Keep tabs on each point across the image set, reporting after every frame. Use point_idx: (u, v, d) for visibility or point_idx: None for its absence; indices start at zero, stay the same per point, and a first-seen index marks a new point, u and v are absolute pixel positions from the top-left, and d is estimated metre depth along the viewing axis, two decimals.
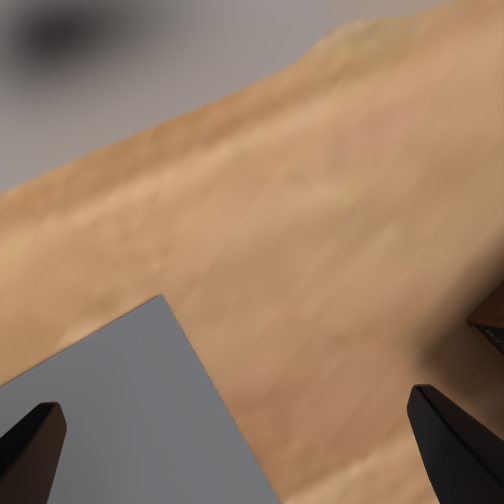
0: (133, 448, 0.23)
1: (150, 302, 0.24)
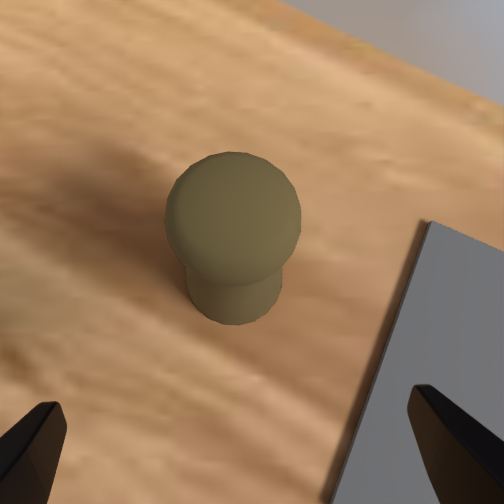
0: None
1: None
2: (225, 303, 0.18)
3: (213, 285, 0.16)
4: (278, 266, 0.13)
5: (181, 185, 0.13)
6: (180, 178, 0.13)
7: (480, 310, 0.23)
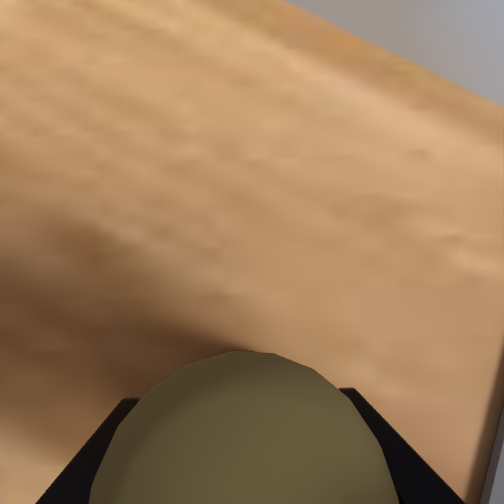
0: None
1: None
2: None
3: None
4: None
5: (117, 485, 0.05)
6: (118, 454, 0.06)
7: None
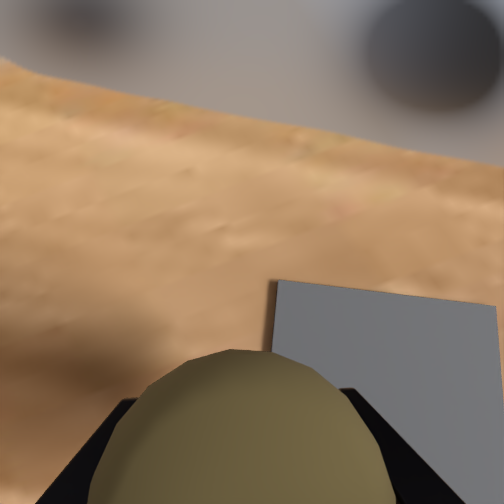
0: (402, 421, 0.21)
1: (483, 306, 0.24)
2: None
3: None
4: None
5: (117, 483, 0.05)
6: (117, 452, 0.06)
7: (345, 359, 0.22)
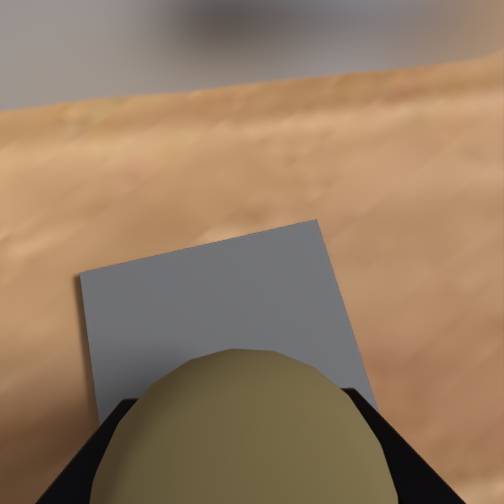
0: None
1: (304, 224, 0.22)
2: None
3: None
4: None
5: (120, 481, 0.05)
6: (120, 450, 0.06)
7: (173, 330, 0.20)
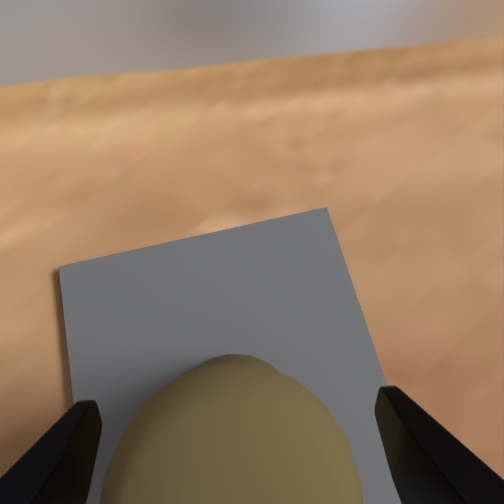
0: None
1: (312, 212, 0.20)
2: None
3: None
4: None
5: (125, 477, 0.06)
6: (126, 451, 0.07)
7: (164, 332, 0.18)
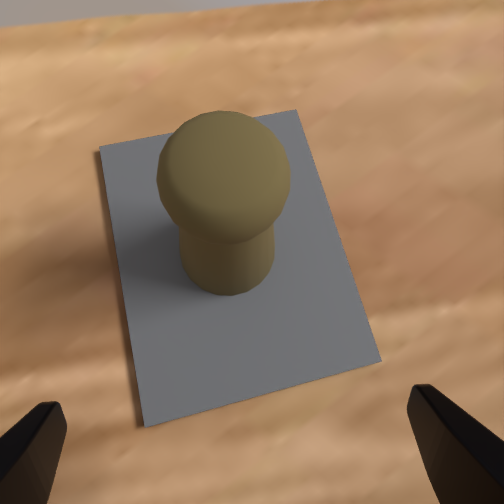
0: None
1: (285, 113, 0.27)
2: (217, 268, 0.18)
3: (205, 248, 0.17)
4: (267, 222, 0.14)
5: (172, 142, 0.13)
6: (171, 135, 0.14)
7: None
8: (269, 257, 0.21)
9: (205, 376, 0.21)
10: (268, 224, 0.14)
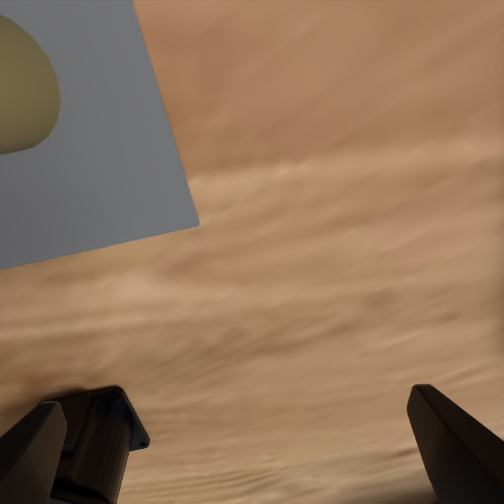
0: None
1: None
2: None
3: None
4: None
5: None
6: None
7: None
8: (28, 122, 0.15)
9: (9, 237, 0.20)
10: None
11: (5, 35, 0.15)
